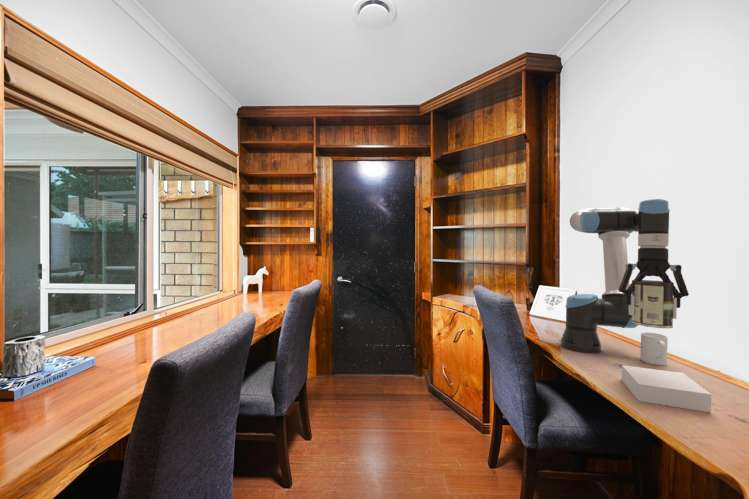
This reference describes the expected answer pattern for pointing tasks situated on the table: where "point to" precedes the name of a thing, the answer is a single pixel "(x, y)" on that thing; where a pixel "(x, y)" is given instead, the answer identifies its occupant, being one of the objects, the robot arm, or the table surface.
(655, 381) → the base
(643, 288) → the coffee can
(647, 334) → the mug
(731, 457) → the table surface
